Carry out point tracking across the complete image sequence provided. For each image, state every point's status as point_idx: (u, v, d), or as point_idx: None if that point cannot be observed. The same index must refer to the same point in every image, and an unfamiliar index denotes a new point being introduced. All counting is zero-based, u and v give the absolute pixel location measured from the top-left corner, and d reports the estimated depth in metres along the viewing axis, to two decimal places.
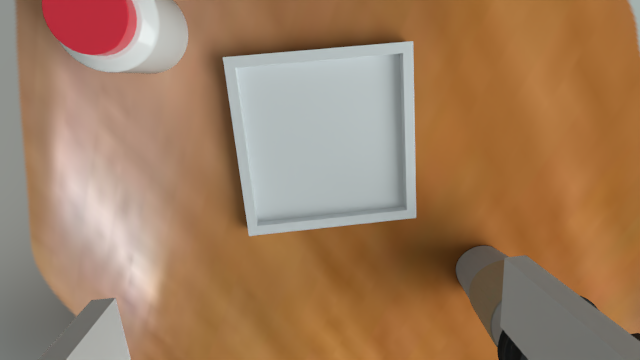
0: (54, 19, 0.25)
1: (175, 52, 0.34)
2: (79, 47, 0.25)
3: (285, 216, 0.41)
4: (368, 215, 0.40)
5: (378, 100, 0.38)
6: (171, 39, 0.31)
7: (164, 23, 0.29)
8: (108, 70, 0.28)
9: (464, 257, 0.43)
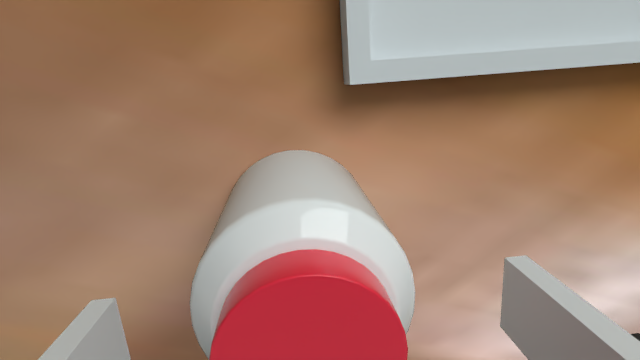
0: None
1: (343, 173, 0.17)
2: None
3: None
4: None
5: None
6: (330, 177, 0.15)
7: (309, 188, 0.13)
8: (412, 309, 0.13)
9: None
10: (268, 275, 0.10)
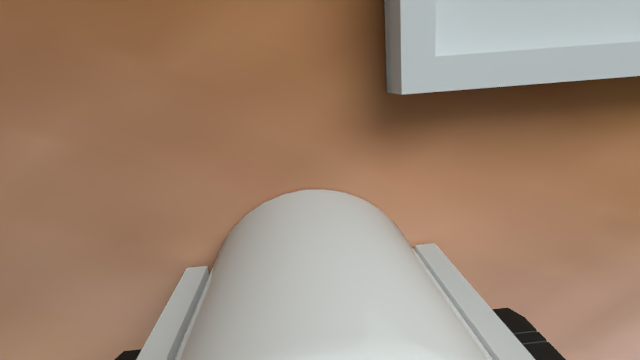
0: None
1: (391, 233, 0.11)
2: None
3: None
4: None
5: None
6: (380, 256, 0.09)
7: (352, 299, 0.07)
8: None
9: None
10: None
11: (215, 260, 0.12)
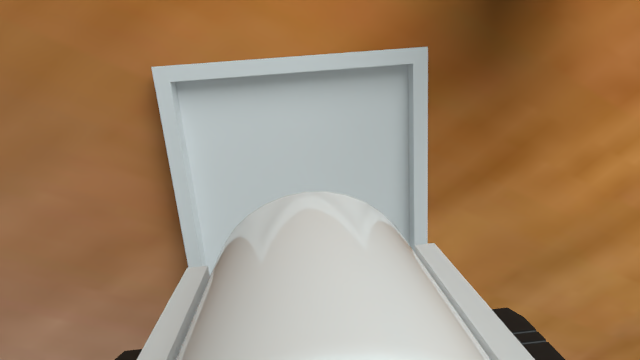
0: None
1: (391, 236, 0.11)
2: None
3: (406, 236, 0.30)
4: (415, 125, 0.26)
5: (244, 111, 0.26)
6: (380, 259, 0.09)
7: (352, 303, 0.07)
8: None
9: None
10: None
11: None
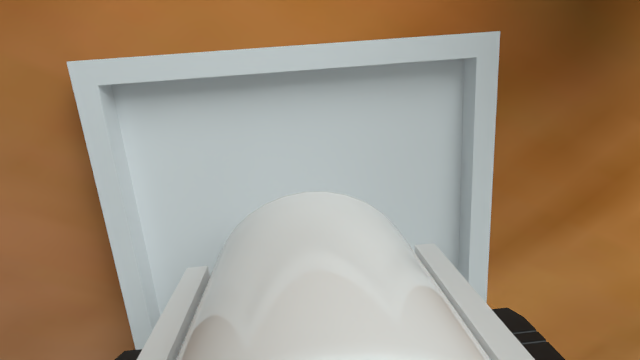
0: None
1: (391, 236, 0.11)
2: None
3: None
4: (476, 150, 0.18)
5: (217, 128, 0.17)
6: (380, 259, 0.09)
7: (352, 303, 0.07)
8: None
9: None
10: None
11: None
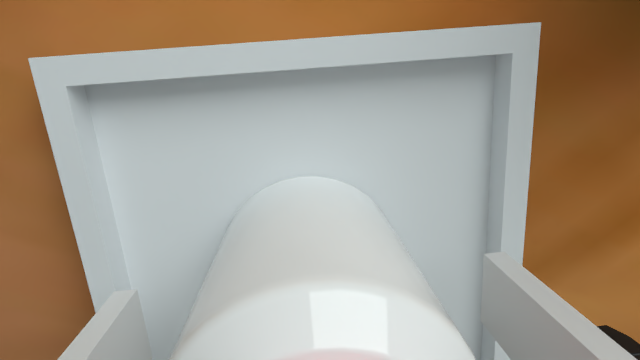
0: None
1: (371, 211, 0.13)
2: None
3: (476, 333, 0.18)
4: (509, 162, 0.15)
5: (209, 136, 0.15)
6: (356, 225, 0.11)
7: (329, 251, 0.09)
8: None
9: None
10: None
11: None
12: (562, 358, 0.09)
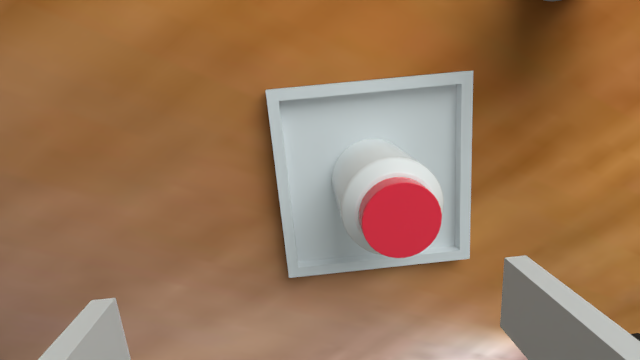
0: (407, 249, 0.26)
1: None
2: (434, 230, 0.26)
3: (452, 218, 0.37)
4: (462, 130, 0.34)
5: (329, 121, 0.34)
6: (399, 150, 0.30)
7: (393, 153, 0.28)
8: (442, 209, 0.28)
9: None
10: (385, 184, 0.25)
11: (337, 164, 0.34)
12: None
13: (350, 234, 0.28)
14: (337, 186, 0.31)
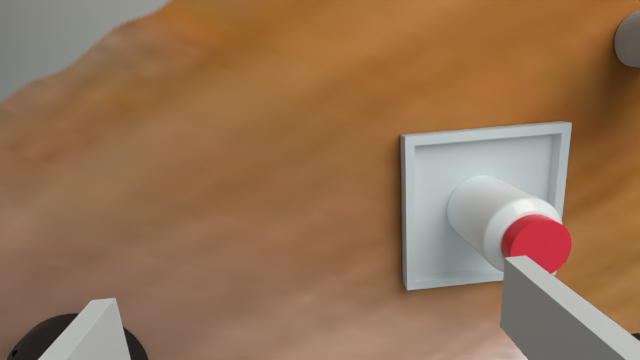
0: None
1: None
2: (564, 256, 0.33)
3: None
4: (559, 170, 0.41)
5: (450, 161, 0.41)
6: (519, 189, 0.37)
7: (522, 193, 0.35)
8: None
9: (626, 61, 0.40)
10: (529, 220, 0.32)
11: (457, 196, 0.41)
12: None
13: (488, 258, 0.35)
14: (467, 217, 0.38)
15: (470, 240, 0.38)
